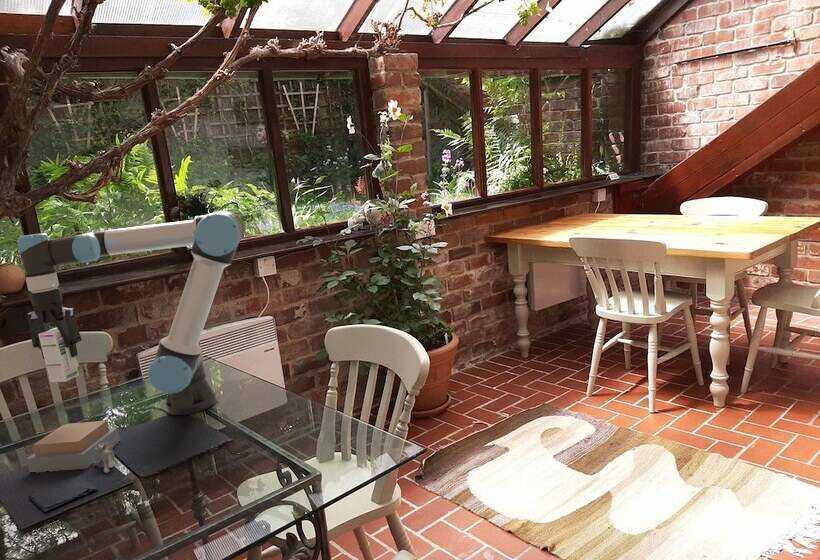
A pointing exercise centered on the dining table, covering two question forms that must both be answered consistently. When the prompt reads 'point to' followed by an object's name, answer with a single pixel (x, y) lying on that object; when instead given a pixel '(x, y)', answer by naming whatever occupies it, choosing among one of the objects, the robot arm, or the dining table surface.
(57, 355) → the syrup box
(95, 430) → the display podium
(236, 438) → the dining table surface
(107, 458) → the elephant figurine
